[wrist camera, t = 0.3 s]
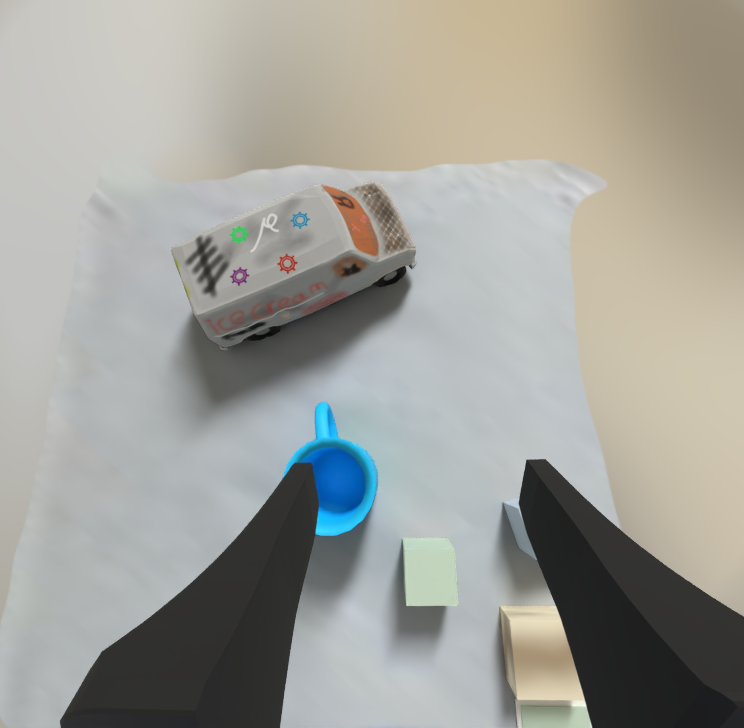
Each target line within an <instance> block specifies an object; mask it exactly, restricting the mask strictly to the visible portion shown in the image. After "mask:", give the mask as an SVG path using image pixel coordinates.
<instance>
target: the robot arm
mask: <svg viewBox="0 0 744 728" xmlns="http://www.w3.org/2000/svg"><path fill="white" fill-rule="evenodd" d="M519 507H520V511H521V515H522V519H523V522H524V526H525V529H526V533H527V536H528V538H529V541H530V543H531V546H532V548H533V551H534V553H535V556H536V558H537V561H538V563H539V566H540V568H541V570H542V573H543V575H544V578H545V580H546V583H547V585H548V587H549V590H550V592H551V595H552V597H553V600H554V602H555V605H556V607H557V610H558V613H559V616H560V618H561V621H562V625H563V628H564V631H565V634H566V638H567V641H568V644H569V647H570V651H571V654H572V657H573V661H574V664H575V668H576V671H577V675H578V678H579V681H580V685H581V688H582V692H583V695H584V699H585V703H586V707H587V710H588V714H589V718H590V722H591V725H592V728H744V617H743V616H742V615H740V614H738V613H737V612H735V611H733V610H732V609H730V608H728V607H727V606H725V605H724V604H722V603H721V602H719V601H717V600H716V599H714V598H712V597H711V596H709V595H708V594H706V593H705V592H703V591H702V590H700V589H699V588H697V587H696V586H695V585H693V584H692V583H690V582H689V581H687V580H685V579H684V578H683V577H681V576H680V575H678V574H677V573H675V572H674V571H673V570H671V569H670V568H668V567H667V566H666V565H664V564H663V563H662V562H660V561H659V560H658V559H656V558H655V557H654V556H652V555H651V554H650V553H648V552H647V551H646V550H644V549H643V548H641V547H640V546H639V545H638V544H637V543H635V542H634V541H633V540H632V539H630V538H629V537H628V536H627V535H626V534H624V533H623V532H622V531H621V530H620V529H619V528H617V527H616V526H615V525H614V524H613V523H612V522H610V521H609V520H608V519H607V518H606V517H605V516H604V515H603V514H601V513H600V512H599V511H598V510H597V509H596V508H595V507H594V506H593V505H592V504H591V503H590V502H589V501H587V500H586V499H585V498H584V497H583V496H582V495H581V494H580V493H579V492H578V491H577V490H576V489H575V488H574V487H573V486H572V485H571V484H570V483H569V482H568V481H567V480H566V479H565V478H564V477H563V476H562V475H561V474H560V473H559V472H558V471H557V470H556V469H555V468H554V467H553V466H552V465H551V464H550V463H549V462H548V461H547V460H546V459H538V460H526V466H525V471H524V476H523V482H522V487H521V493H520V498H519ZM318 510H319V501H318V495H317V489H316V483H315V477H314V471H313V465H312V463H294V464H293V465H292V466H291V467H290V469H289V470H288V472H287V473H286V475H285V476H284V478H283V479H282V481H281V482H280V483H279V485H278V486H277V488H276V489H275V490H274V492H273V493H272V495H271V496H270V497H269V499H268V500H267V501H266V502H265V504H264V505H263V506H262V508H261V509H260V510H259V512H258V513H257V514H256V515H255V517H254V518H253V519H252V520H251V521H250V523H249V524H248V525H247V526H246V527H245V528H244V530H243V531H242V532H241V533H240V534H239V535H238V537H237V538H236V539H235V540H234V541H233V542H232V543H231V544H230V545H229V546H228V548H227V549H226V550H225V551H224V552H223V553H222V554H221V555H220V556H219V557H218V558H217V559H216V560H215V561H214V562H213V563H212V564H211V565H210V566H209V567H208V568H207V569H206V570H204V571H203V572H202V573H201V574H200V575H199V576H198V577H197V578H196V579H195V580H194V581H193V582H192V583H190V584H189V585H188V586H187V587H186V588H185V589H184V590H183V591H181V592H180V593H179V594H178V595H176V596H175V597H174V598H173V599H172V600H170V601H169V602H168V603H167V604H166V605H164V606H163V607H162V608H161V609H159V610H158V611H157V612H156V613H155V614H153V615H152V616H151V617H149V618H148V619H147V620H146V621H144V622H143V623H142V624H140V625H139V626H137V627H136V628H135V629H133V630H132V631H130V632H129V633H128V634H126V635H125V636H123V637H122V638H121V639H119V640H118V641H117V642H115V643H114V644H112V645H111V646H109V647H108V648H107V649H105V650H104V651H102V652H101V654H100V655H99V657H98V659H97V660H96V661H95V663H94V664H93V666H92V667H91V669H90V670H89V672H88V674H87V676H86V677H85V679H84V681H83V682H82V684H81V686H80V688H79V689H78V691H77V693H76V694H75V696H74V698H73V700H72V701H71V703H70V705H69V707H68V708H67V710H66V712H65V713H64V715H63V717H62V719H61V720H60V725H61V728H280V722H281V714H282V707H283V699H284V691H285V684H286V677H287V670H288V663H289V656H290V649H291V643H292V636H293V630H294V624H295V617H296V612H297V608H298V603H299V599H300V595H301V591H302V587H303V583H304V578H305V574H306V570H307V566H308V562H309V558H310V554H311V550H312V546H313V542H314V538H315V533H316V526H317V518H318Z"/></svg>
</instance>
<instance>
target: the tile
mask: <svg viewBox="0 0 744 728" xmlns="http://www.w3.org/2000/svg"><path fill="white" fill-rule="evenodd" d="M515 707H516V718H517V728H592V725H591V722H590V718H589V714H588V710H587V707H586V703H585V701H571V700H517V699H515Z"/></svg>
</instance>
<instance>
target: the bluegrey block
mask: <svg viewBox="0 0 744 728" xmlns="http://www.w3.org/2000/svg"><path fill="white" fill-rule="evenodd" d="M519 498H520V497H518V498H515V499H512V500H508V501H505V502H503V505H504V507H505V510H506V513H507V516H508V519H509V522H510V524H511V527H512V530H513V533H514V536H515V539H516V541H517V544H518V547H519V548H520V549H521V550H523V551H524V552H525V553H527V554H528V555H530V556H531V557H533V558H534V559H535V560H537V558H536V556H535V553H534V551H533V548H532V546H531V543H530V541H529V538H528V536H527V533H526V529H525V526H524V522H523V519H522V515H521V511H520V507H519Z"/></svg>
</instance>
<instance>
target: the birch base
mask: <svg viewBox="0 0 744 728" xmlns="http://www.w3.org/2000/svg"><path fill="white" fill-rule="evenodd" d="M500 614H501V626H502V637H503V648H504V660H505V671H506V679H507V681H508V683H509V685H510V687H511V689H512V690H513V692H514V694H515V696H516V698H517V700H571V701H585V699H584V695H583V692H582V688H581V685H580V681H579V678H578V675H577V671H576V668H575V664H574V661H573V657H572V654H571V651H570V647H569V644H568V641H567V638H566V634H565V631H564V628H563V625H562V621H561V618H560V616H559V613H558V610H557V607H556V606H500Z"/></svg>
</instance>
